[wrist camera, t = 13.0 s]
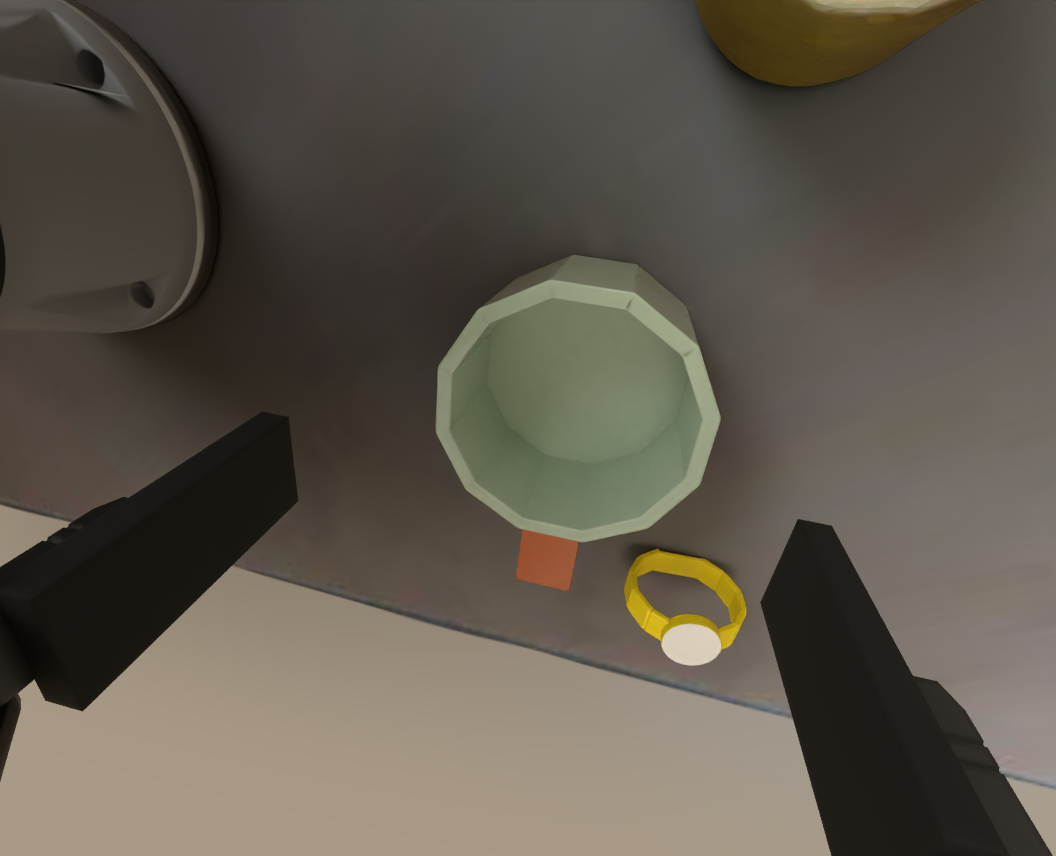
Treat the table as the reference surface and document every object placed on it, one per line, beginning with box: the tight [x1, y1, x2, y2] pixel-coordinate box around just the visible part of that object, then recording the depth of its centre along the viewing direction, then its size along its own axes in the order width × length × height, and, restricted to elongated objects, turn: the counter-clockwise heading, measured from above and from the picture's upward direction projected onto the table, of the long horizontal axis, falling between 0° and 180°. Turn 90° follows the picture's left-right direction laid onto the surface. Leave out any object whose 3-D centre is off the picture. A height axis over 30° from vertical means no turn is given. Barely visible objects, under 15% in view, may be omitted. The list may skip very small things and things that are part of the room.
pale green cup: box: [436, 255, 721, 591], centre depth 22 cm, size 13×10×6 cm
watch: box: [624, 549, 747, 666], centre depth 27 cm, size 6×3×6 cm, turn 82°
